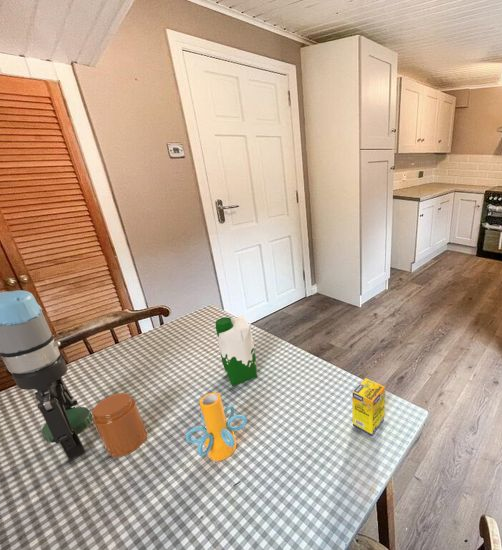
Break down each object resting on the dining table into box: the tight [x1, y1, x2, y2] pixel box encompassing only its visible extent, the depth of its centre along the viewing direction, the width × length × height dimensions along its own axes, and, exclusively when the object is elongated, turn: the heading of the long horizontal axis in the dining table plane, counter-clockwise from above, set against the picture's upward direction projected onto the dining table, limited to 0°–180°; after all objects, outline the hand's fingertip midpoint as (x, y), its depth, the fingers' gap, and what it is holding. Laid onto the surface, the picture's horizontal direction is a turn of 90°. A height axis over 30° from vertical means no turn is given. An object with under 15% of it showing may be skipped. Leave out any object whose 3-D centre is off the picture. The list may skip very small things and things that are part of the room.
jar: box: [91, 392, 148, 458], centre depth 69 cm, size 8×8×12 cm
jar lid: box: [41, 406, 93, 444], centre depth 69 cm, size 8×8×2 cm
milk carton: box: [214, 315, 258, 387], centre depth 89 cm, size 9×9×20 cm
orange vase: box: [185, 392, 248, 462], centre depth 67 cm, size 12×10×15 cm
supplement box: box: [351, 378, 386, 437], centre depth 74 cm, size 6×6×11 cm
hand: (77, 442), depth 71 cm, fingers closed on jar lid, 8 cm apart
